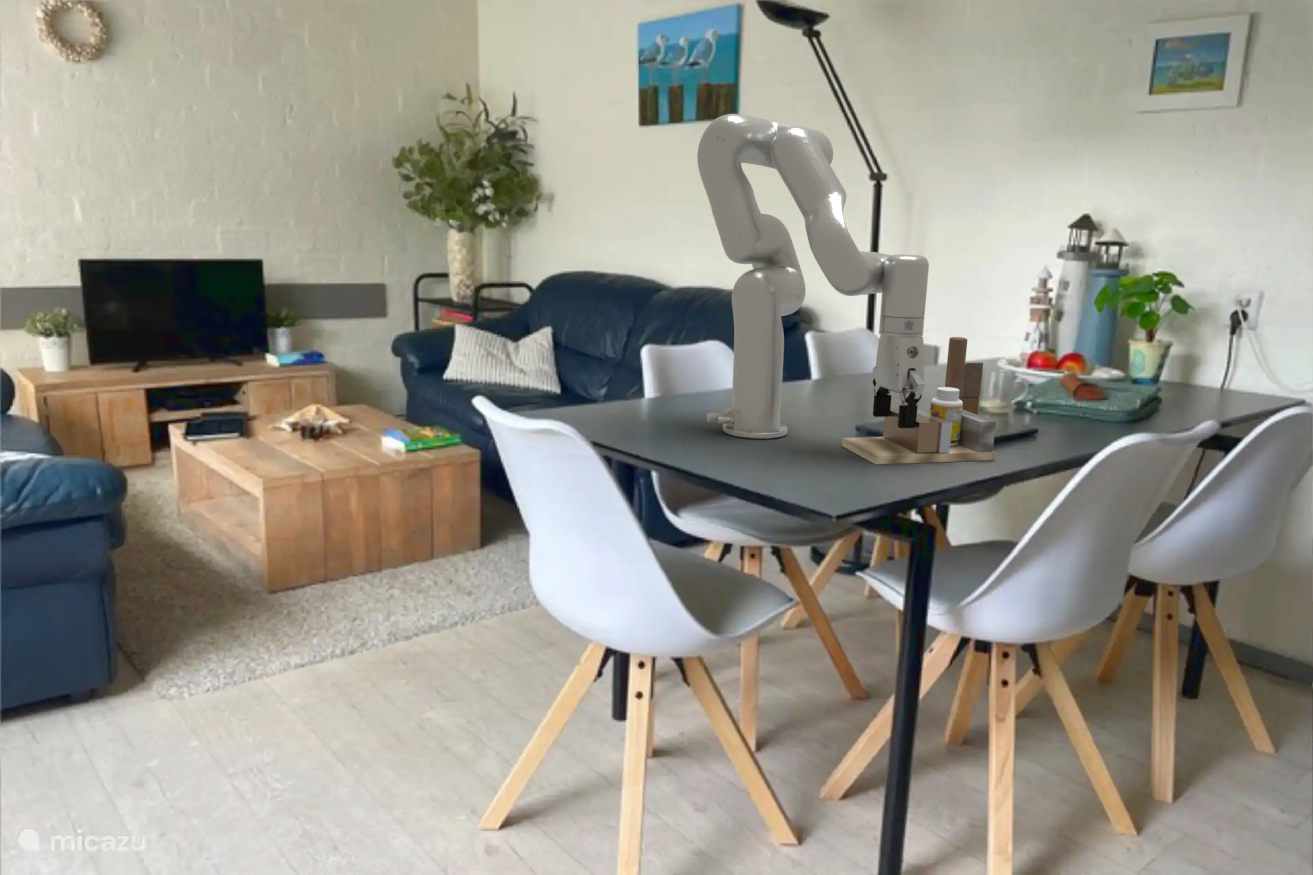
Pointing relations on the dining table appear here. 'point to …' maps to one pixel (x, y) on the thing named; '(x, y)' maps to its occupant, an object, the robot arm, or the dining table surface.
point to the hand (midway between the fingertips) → (893, 421)
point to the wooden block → (963, 374)
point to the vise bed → (971, 447)
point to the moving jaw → (920, 432)
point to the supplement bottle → (948, 410)
